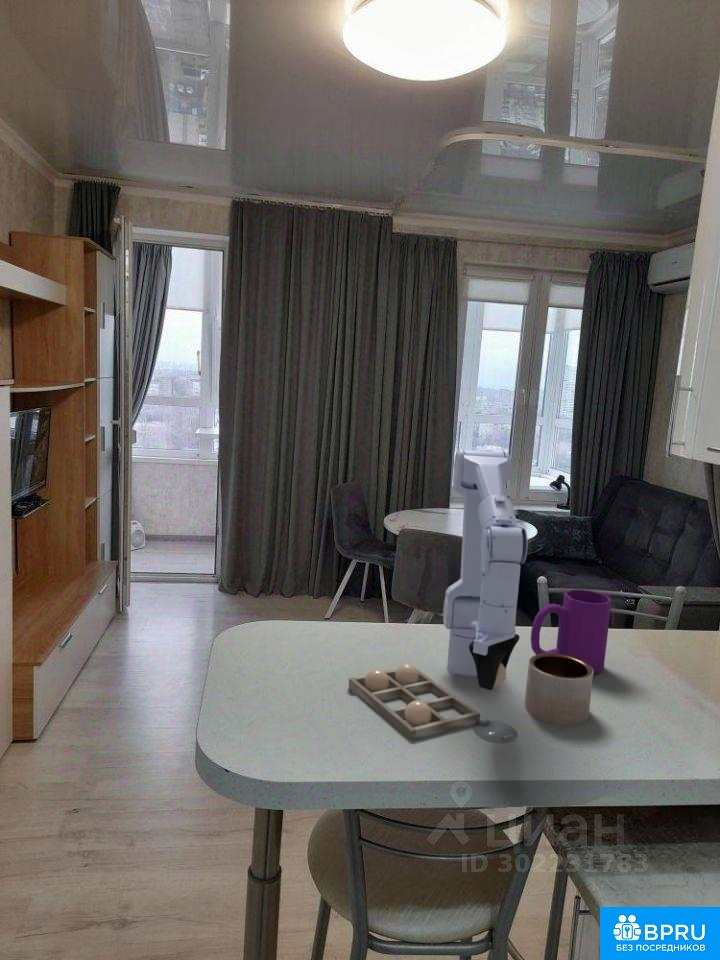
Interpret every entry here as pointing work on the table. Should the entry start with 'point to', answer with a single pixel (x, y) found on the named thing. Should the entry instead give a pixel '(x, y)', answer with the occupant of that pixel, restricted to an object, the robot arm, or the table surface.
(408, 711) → the egg
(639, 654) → the table surface
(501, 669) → the egg loose
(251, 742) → the table surface
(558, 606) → the mug
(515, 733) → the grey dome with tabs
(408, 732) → the carton
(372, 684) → the egg
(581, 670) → the planter
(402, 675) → the egg
